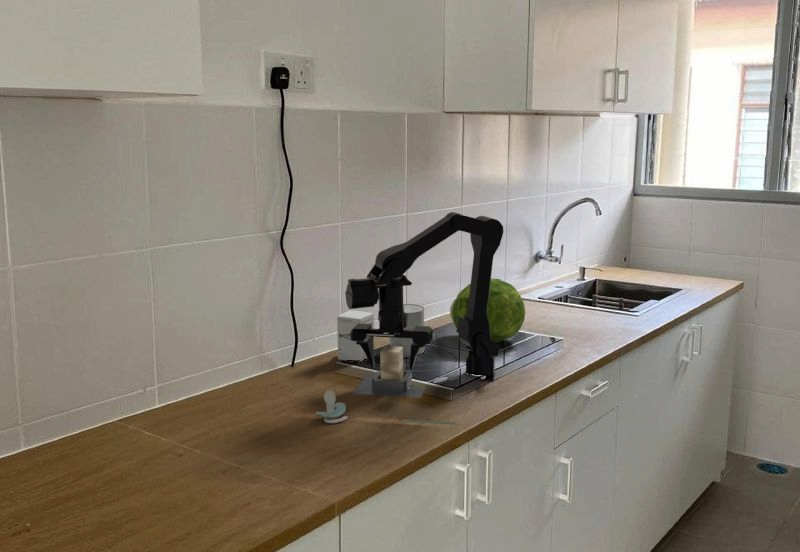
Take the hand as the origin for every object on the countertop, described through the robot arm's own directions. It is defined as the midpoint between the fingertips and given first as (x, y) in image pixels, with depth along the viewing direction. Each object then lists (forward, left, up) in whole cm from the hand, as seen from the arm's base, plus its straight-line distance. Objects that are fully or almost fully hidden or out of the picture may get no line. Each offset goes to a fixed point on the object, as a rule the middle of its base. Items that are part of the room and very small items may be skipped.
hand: (392, 368), depth 192 cm
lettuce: (-17, -42, -5) cm, 46 cm away
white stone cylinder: (+2, -29, -5) cm, 30 cm away
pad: (-12, +14, -5) cm, 19 cm away
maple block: (0, 0, -4) cm, 4 cm away
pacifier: (+9, +20, -5) cm, 23 cm away
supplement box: (+14, -20, -5) cm, 25 cm away
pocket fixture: (0, 0, -5) cm, 5 cm away
